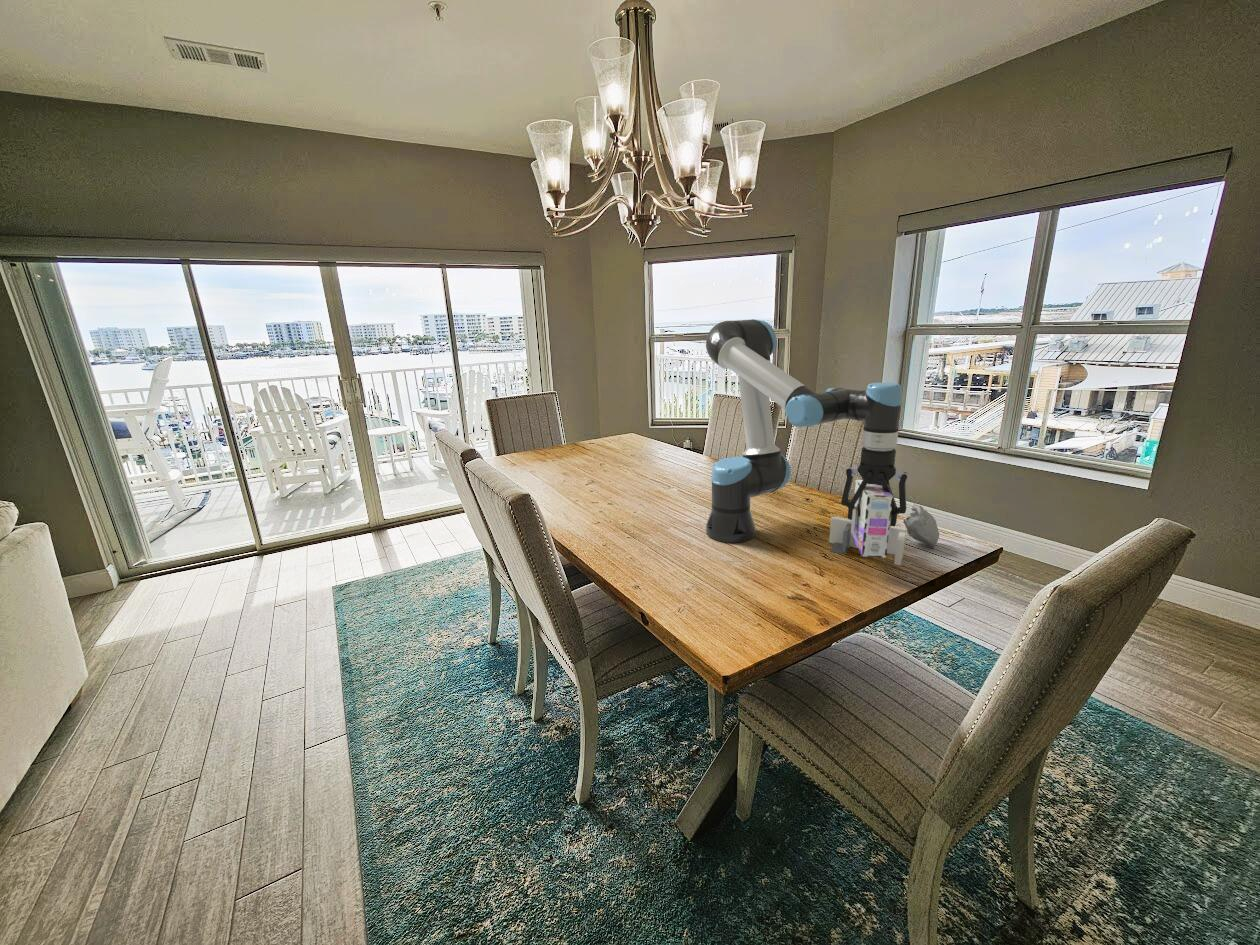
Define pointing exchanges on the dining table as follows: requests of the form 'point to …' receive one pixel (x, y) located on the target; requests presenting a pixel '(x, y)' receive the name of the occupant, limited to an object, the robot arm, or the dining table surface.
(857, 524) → the candy box
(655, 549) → the dining table surface
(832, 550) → the bookend
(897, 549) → the shelf
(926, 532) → the heart
